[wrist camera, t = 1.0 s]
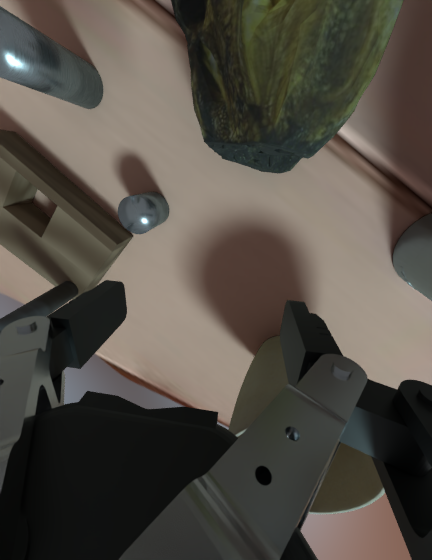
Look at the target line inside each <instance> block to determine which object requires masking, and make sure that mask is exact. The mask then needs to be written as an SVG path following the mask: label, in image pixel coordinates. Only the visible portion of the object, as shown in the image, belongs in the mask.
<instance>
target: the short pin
mask: <svg viewBox="0 0 432 560" xmlns="http://www.w3.org/2000/svg"><path fill="white" fill-rule="evenodd" d="M118 216H119V219H120V221H121V223H122V225H123V226H124V227H125V228H126V229H127V230H128V231H130V232H132V233H135V234H143V233H146V232H147V231H149V230H151V229H153V228H155V227H156V226H158V225H160V224H162V223H163V222H165V221H166V219H167V218H168V216H169V205H168V203H167V201H166V199H165V198H164V197H163V196H162V195H161V194H159V193H156V192H147V193H142V194H138V195H133V196H128V197H126V198H124V199H123V200H122V201H121V202H120V204H119V207H118Z"/></svg>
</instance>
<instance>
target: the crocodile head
mask: <svg viewBox="0 0 432 560" xmlns="http://www.w3.org/2000/svg"><path fill="white" fill-rule="evenodd" d="M171 1H172V5H173V10H174V14H175V18H176V21H177V22H178V24H179V25H180V27H181V29H182V30H183V32H184V34H185V36H186V40H187V42H188V45H187V47H188V54H189V61H190V68H191V87H192V96H193V104H194V110H195V113H196V116H197V119H198V121H199V124H200V127H201V131H202V135H203V139H204V142H205V143H206V144H207V145H208V146H209V147H210V148H212V149H213V150H214V152H217V153H218V155H221V156H222V159H225V160H229V161H233V162H236V163H239V164H242V165H245V166H248V167H251V168H253V169H257V170H259V171H263V172H272V173H283V172H287V171H290V170H291V169H292V168H293V167H294V166H295V165H296V164H297V163H298V162H299V161H300V159H301V158H310V157H312V156H313V155H314V154H315V153H316V152H318V151H319V150H320V149H321V148H322V147H323V146H324V145H325V144H326V143H327V142H328V141H329V140H330V139H331V138H332V137H334V135H335V134H336V133H337V132H338V131H339V130H340V128H341V127H342V126H343V125H344V124H345V122H346V121H347V120H348V118H349V117H350V116H351V114H352V113H353V112H354V110H355V108H356V106H357V103H358V101H359V99H360V98H361V96H362V94H363V93H364V91H365V90H366V88H367V86H368V85H369V83H370V82H371V80H372V79H373V77H374V75H375V73H376V71H377V68H378V66H379V63H380V61H381V58H382V56H383V54H384V51H385V49H386V46H387V44H388V41H389V38H390V36H391V33H392V30H393V28H394V25H395V22H396V19H397V17H398V14H399V11H400V9H401V6H402V3H403V0H171Z"/></svg>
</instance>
